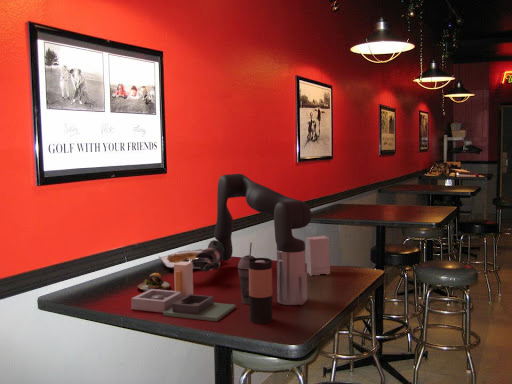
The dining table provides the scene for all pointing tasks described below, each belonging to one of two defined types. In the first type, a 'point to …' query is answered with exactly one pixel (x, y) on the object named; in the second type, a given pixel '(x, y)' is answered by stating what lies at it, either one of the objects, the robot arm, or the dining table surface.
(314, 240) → the skincare box
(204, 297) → the header board
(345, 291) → the dining table surface
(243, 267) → the beverage cup
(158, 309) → the fan
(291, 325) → the dining table surface
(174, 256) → the oval serving dish
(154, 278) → the burger
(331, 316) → the dining table surface
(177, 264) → the plug
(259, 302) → the travel mug
